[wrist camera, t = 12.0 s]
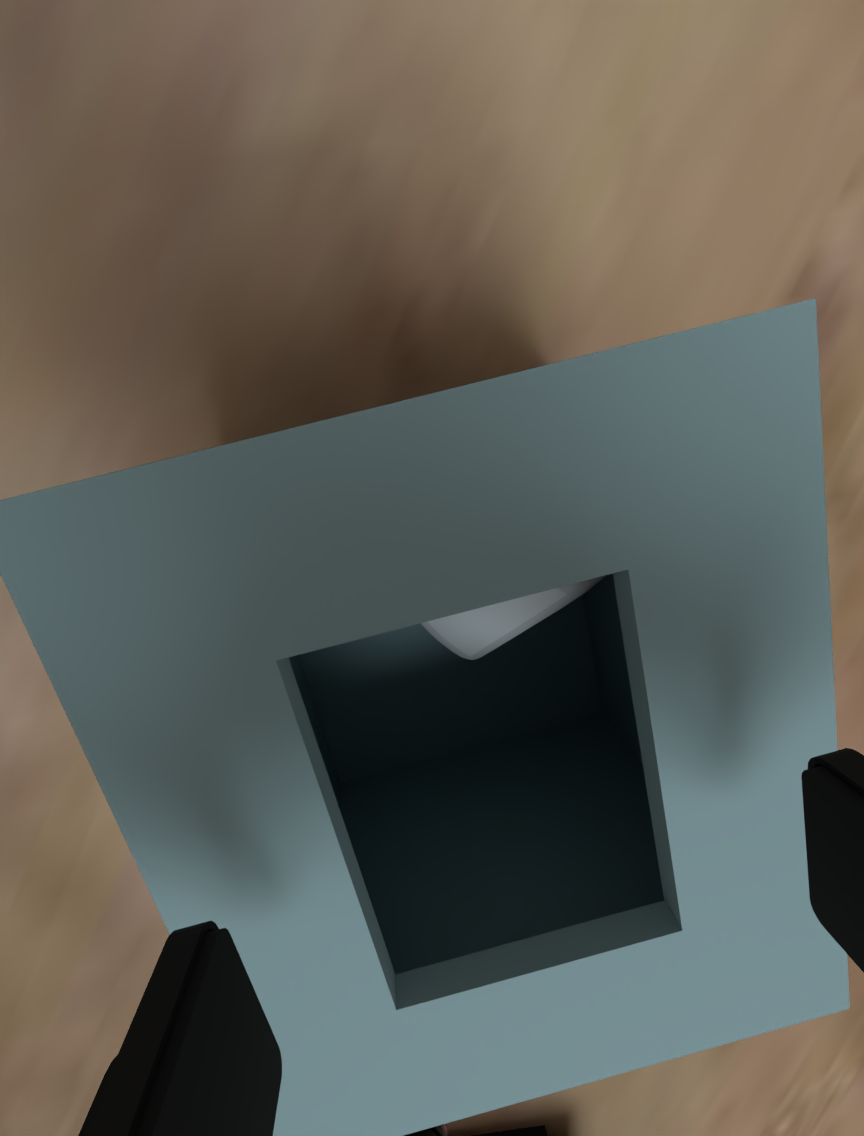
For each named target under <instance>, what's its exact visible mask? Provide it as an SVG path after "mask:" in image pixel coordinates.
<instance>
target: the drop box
mask: <svg viewBox="0 0 864 1136" xmlns="http://www.w3.org/2000/svg"><path fill="white" fill-rule="evenodd" d="M0 574H1V576H2V578H3V580H4V582H5V585H6V587H7V589H8V591H9V593H10V595H11V597H12V599H13V602H14V604H15V606H16V608H17V610H18V612H19V614H20V617H21V619H22V621H23V623H24V625H25V627H26V629H27V631H28V634H29V636H30V638H31V640H32V642H33V644H34V646H35V648H36V651H37V653H38V655H39V657H40V659H41V661H42V663H43V665H44V668H45V670H46V672H47V674H48V676H49V678H50V680H51V683H52V685H53V687H54V689H55V691H56V693H57V695H58V697H59V700H60V702H61V704H62V706H63V708H64V710H65V712H66V714H67V717H68V719H69V721H70V723H71V725H72V727H73V729H74V731H75V734H76V736H77V738H78V740H79V742H80V744H81V746H82V749H83V751H84V753H85V755H86V757H87V759H88V761H89V763H90V766H91V768H92V770H93V772H94V774H95V776H96V778H97V780H98V783H99V785H100V787H101V789H102V791H103V793H104V795H105V798H106V800H107V802H108V804H109V806H110V808H111V810H112V812H113V815H114V817H115V819H116V821H117V823H118V825H119V827H120V829H121V832H122V834H123V836H124V838H125V840H126V842H127V844H128V846H129V849H130V851H131V853H132V855H133V857H134V859H135V861H136V864H137V866H138V868H139V870H140V872H141V874H142V876H143V878H144V881H145V883H146V885H147V887H148V889H149V891H150V893H151V895H152V898H153V900H154V902H155V904H156V906H157V908H158V910H159V912H160V915H161V917H162V919H163V921H164V923H165V925H166V927H167V930H168V932H169V934H171V933H172V932H173V931H174V930H178V929H181V928H185V927H189V926H193V925H196V924H200V923H204V922H207V921H213V922H215V923H216V925H217V926H218V928H219V929H222V928H226V929H228V931H229V933H230V934H231V937H232V939H233V941H234V944H235V946H236V948H237V951H238V953H239V955H240V958H241V960H242V962H243V965H244V967H245V969H246V972H247V974H248V976H249V978H250V981H251V983H252V985H253V988H254V990H255V992H256V995H257V997H258V999H259V1002H260V1004H261V1006H262V1009H263V1011H264V1013H265V1016H266V1018H267V1020H268V1022H269V1025H270V1027H271V1029H272V1032H273V1034H274V1036H275V1039H276V1041H277V1043H278V1046H279V1049H280V1052H281V1058H282V1078H281V1085H280V1092H279V1098H278V1105H277V1111H276V1117H275V1124H274V1130H273V1136H404V1135H407V1134H411V1133H414V1132H418V1131H421V1130H425V1129H428V1128H432V1127H435V1126H439V1125H442V1124H446V1123H449V1122H453V1121H456V1120H460V1119H463V1118H467V1117H470V1116H474V1115H477V1114H481V1113H484V1112H488V1111H491V1110H495V1109H499V1108H502V1107H506V1106H509V1105H513V1104H516V1103H520V1102H523V1101H527V1100H530V1099H534V1098H537V1097H541V1096H544V1095H548V1094H551V1093H555V1092H558V1091H562V1090H565V1089H569V1088H572V1087H576V1086H579V1085H583V1084H586V1083H590V1082H593V1081H597V1080H601V1079H604V1078H608V1077H611V1076H615V1075H618V1074H622V1073H625V1072H629V1071H632V1070H636V1069H639V1068H643V1067H646V1066H650V1065H653V1064H657V1063H660V1062H664V1061H667V1060H671V1059H674V1058H678V1057H681V1056H685V1055H688V1054H692V1053H695V1052H699V1051H702V1050H706V1049H710V1048H713V1047H717V1046H720V1045H724V1044H727V1043H731V1042H734V1041H738V1040H741V1039H745V1038H748V1037H752V1036H755V1035H759V1034H762V1033H766V1032H769V1031H773V1030H776V1029H780V1028H783V1027H787V1026H790V1025H794V1024H797V1023H801V1022H804V1021H808V1020H812V1019H815V1018H819V1017H822V1016H826V1015H829V1014H833V1013H836V1012H840V1011H843V1010H847V1009H850V1005H849V984H848V963H847V953H846V952H845V951H844V950H843V948H842V947H841V946H840V945H839V944H838V943H837V942H836V941H835V939H834V938H833V937H832V936H831V935H830V934H829V933H828V932H827V930H826V929H825V928H824V927H823V926H822V924H821V923H820V922H819V920H818V918H817V917H816V915H815V913H814V911H813V909H812V906H811V903H810V895H809V881H808V866H807V852H806V837H805V823H804V808H803V794H802V779H801V777H802V772H803V771H804V770H807V769H808V762H809V760H810V758H813V757H816V756H820V755H823V754H827V753H831V752H834V751H837V732H836V711H835V690H834V669H833V649H832V628H831V607H830V586H829V565H828V544H827V523H826V502H825V481H824V460H823V439H822V418H821V397H820V376H819V355H818V334H817V313H816V298H814V299H810V300H806V301H802V302H798V303H794V304H790V305H786V306H782V307H778V308H774V309H770V310H766V311H762V312H758V313H754V314H750V315H746V316H742V317H738V318H734V319H729V320H725V321H721V322H717V323H713V324H709V325H705V326H701V327H697V328H693V329H689V330H685V331H681V332H677V333H673V334H669V335H665V336H661V337H657V338H653V339H649V340H645V341H641V342H637V343H633V344H629V345H625V346H621V347H617V348H613V349H608V350H604V351H600V352H596V353H592V354H588V355H584V356H580V357H576V358H572V359H568V360H564V361H560V362H556V363H552V364H548V365H544V366H540V367H536V368H532V369H528V370H524V371H520V372H516V373H512V374H508V375H504V376H500V377H496V378H491V379H487V380H483V381H479V382H475V383H471V384H467V385H463V386H459V387H455V388H451V389H447V390H443V391H439V392H435V393H431V394H427V395H423V396H419V397H415V398H411V399H407V400H403V401H399V402H395V403H391V404H387V405H383V406H379V407H374V408H370V409H366V410H362V411H358V412H354V413H350V414H346V415H342V416H338V417H334V418H330V419H326V420H322V421H318V422H314V423H310V424H306V425H302V426H298V427H294V428H290V429H286V430H282V431H278V432H274V433H270V434H266V435H262V436H258V437H253V438H249V439H245V440H241V441H237V442H233V443H229V444H225V445H221V446H217V447H213V448H209V449H205V450H201V451H197V452H193V453H189V454H185V455H181V456H177V457H173V458H169V459H165V460H161V461H157V462H153V463H149V464H145V465H141V466H136V467H132V468H128V469H124V470H120V471H116V472H112V473H108V474H104V475H100V476H96V477H92V478H88V479H84V480H80V481H76V482H72V483H68V484H64V485H60V486H56V487H52V488H48V489H44V490H40V491H36V492H32V493H28V494H24V495H19V496H15V497H11V498H7V499H3V500H0ZM605 575H606V576H605ZM601 576H605V577H604V578H603V579H601V580H600V581H599V582H598V583H597V584H596V585H594V586H593V587H592V588H591V589H589V590H588V591H587V592H585V593H584V594H583V595H581V596H580V597H578V598H577V599H575V600H574V601H572V602H570V603H569V604H567V605H566V606H564V607H563V608H561V609H560V610H558V611H556V612H555V613H553V614H551V615H550V616H548V617H547V618H545V619H543V620H542V621H540V622H538V623H537V624H535V625H534V626H532V627H530V628H529V629H527V630H525V631H524V632H522V633H521V634H519V635H517V636H516V637H514V638H512V639H511V640H509V641H507V642H506V643H504V644H502V645H501V646H499V647H498V648H496V649H494V650H493V651H491V652H489V653H488V654H486V655H484V656H483V657H480V658H478V659H475V660H470V659H465V658H462V657H460V656H458V655H457V654H455V653H454V652H452V651H451V650H449V649H448V648H446V647H445V646H444V645H443V644H441V643H440V642H439V641H438V640H436V639H435V638H434V637H433V636H432V635H431V634H430V633H429V632H428V631H427V630H426V629H425V628H424V627H423V626H422V624H421V623H423V622H427V621H431V620H435V619H439V618H443V617H446V616H450V615H454V614H458V613H462V612H466V611H470V610H473V609H477V608H481V607H485V606H489V605H493V604H497V603H501V602H504V601H508V600H512V599H516V598H520V597H524V596H528V595H531V594H535V593H539V592H543V591H547V590H551V589H555V588H558V587H562V586H566V585H570V584H574V583H578V582H582V581H585V580H589V579H593V578H597V577H601Z"/></svg>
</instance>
